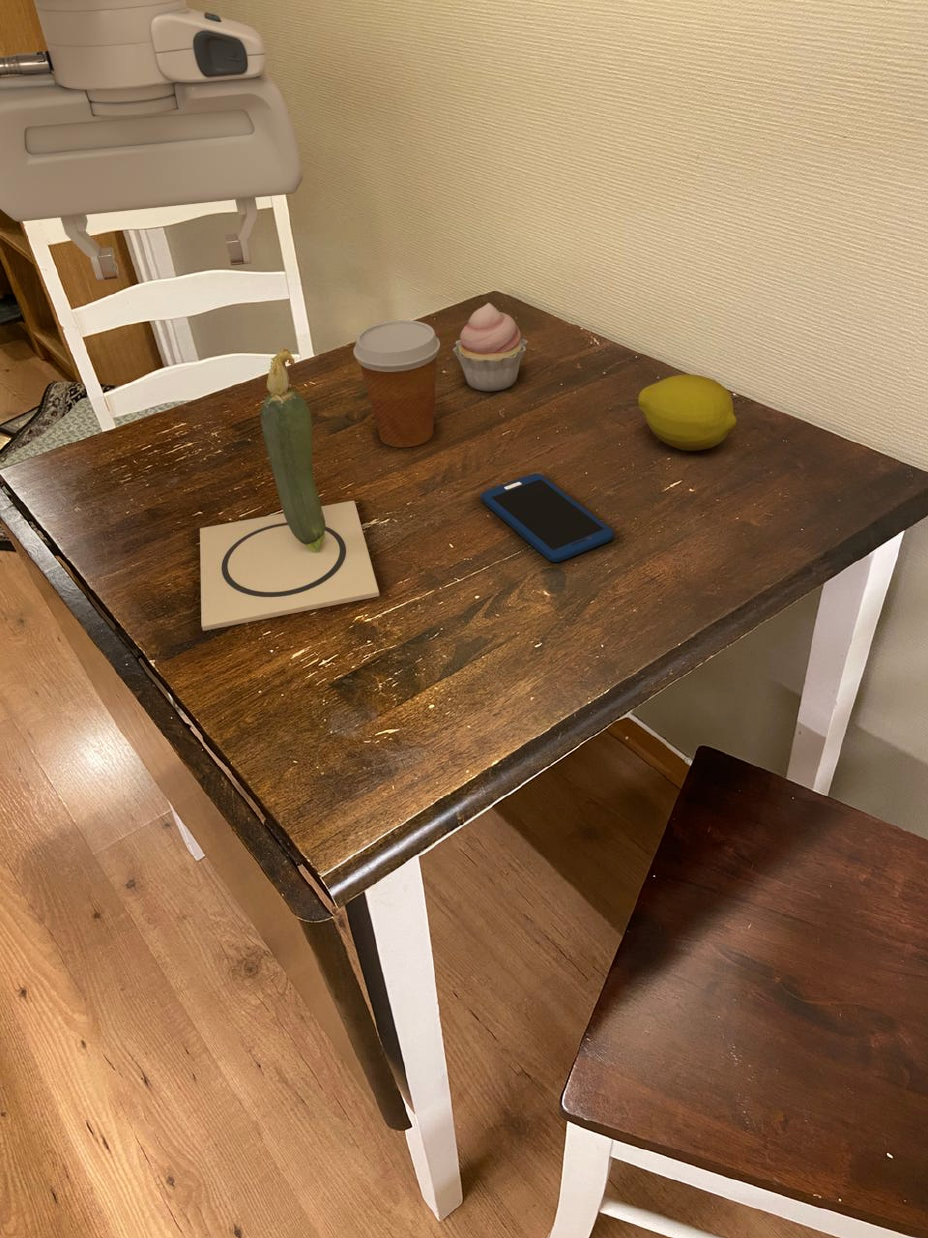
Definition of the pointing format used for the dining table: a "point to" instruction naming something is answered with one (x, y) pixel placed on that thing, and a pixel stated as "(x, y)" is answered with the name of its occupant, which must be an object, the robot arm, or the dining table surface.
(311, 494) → the vegetable
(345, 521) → the board
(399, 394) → the disposable coffee cup
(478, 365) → the cupcake
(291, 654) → the dining table surface
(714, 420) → the lemon
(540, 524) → the cell phone
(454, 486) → the dining table surface
